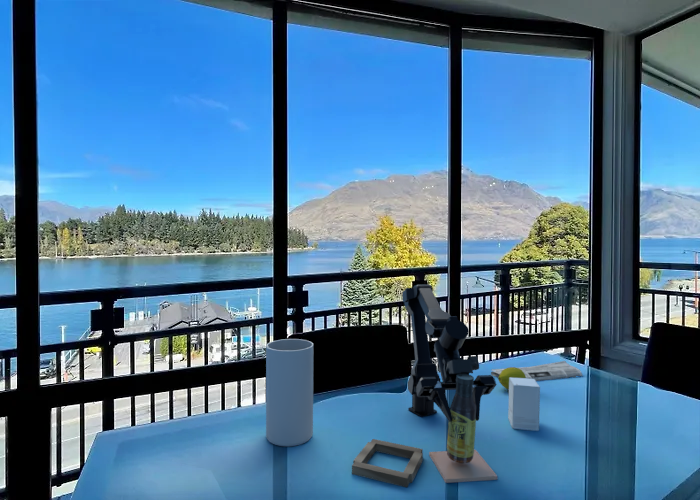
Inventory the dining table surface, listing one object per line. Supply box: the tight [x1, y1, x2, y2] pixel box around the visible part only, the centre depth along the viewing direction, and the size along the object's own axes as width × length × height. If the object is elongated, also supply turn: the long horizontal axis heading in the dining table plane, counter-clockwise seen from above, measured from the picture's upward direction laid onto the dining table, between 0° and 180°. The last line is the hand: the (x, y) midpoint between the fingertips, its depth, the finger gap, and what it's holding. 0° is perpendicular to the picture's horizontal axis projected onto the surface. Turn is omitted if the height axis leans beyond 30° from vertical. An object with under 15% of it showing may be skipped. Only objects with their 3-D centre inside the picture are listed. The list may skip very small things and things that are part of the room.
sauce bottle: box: [446, 373, 477, 463], centre depth 102 cm, size 7×6×20 cm
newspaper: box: [490, 360, 583, 382], centre depth 170 cm, size 35×12×4 cm, turn 105°
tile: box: [428, 449, 498, 484], centre depth 102 cm, size 12×12×1 cm
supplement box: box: [507, 378, 541, 432], centre depth 125 cm, size 7×7×13 cm
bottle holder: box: [351, 438, 424, 488], centre depth 102 cm, size 14×14×2 cm
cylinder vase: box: [265, 338, 314, 447], centre depth 116 cm, size 12×12×25 cm
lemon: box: [497, 366, 526, 391], centre depth 153 cm, size 11×8×8 cm
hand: (464, 420), depth 100 cm, fingers closed on sauce bottle, 6 cm apart
